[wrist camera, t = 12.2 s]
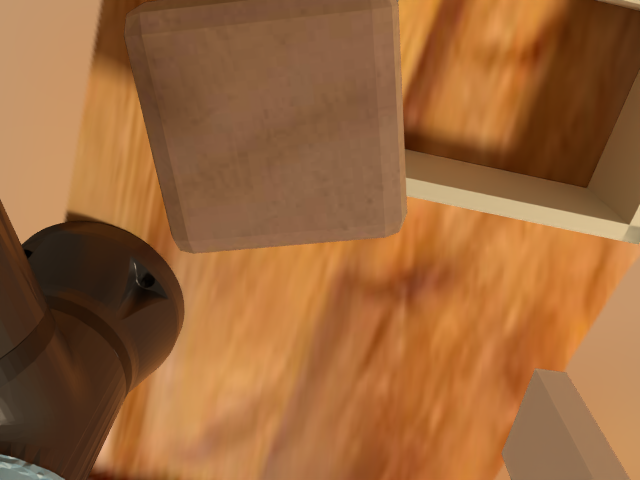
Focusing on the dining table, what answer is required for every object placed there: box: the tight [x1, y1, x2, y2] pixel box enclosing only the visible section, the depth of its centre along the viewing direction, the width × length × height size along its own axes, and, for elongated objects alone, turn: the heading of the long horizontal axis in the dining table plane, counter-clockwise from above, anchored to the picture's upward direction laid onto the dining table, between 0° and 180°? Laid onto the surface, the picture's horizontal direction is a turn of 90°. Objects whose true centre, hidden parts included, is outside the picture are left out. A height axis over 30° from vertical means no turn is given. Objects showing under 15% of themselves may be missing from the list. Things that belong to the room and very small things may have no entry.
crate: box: [405, 0, 640, 244], centre depth 37 cm, size 18×15×7 cm
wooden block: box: [124, 0, 407, 253], centre depth 30 cm, size 10×10×20 cm
